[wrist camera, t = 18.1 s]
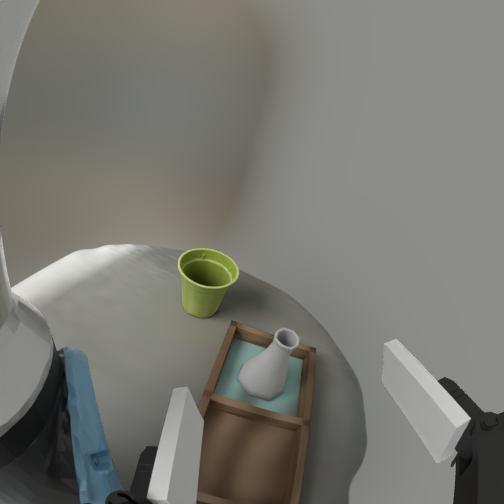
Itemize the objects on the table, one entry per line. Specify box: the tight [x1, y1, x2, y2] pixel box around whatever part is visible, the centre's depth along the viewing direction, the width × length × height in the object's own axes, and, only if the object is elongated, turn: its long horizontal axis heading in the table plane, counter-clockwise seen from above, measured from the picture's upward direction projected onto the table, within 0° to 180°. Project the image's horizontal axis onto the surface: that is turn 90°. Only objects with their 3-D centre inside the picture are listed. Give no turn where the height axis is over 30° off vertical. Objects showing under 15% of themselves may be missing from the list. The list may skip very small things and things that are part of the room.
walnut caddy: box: [196, 321, 316, 504], centre depth 30 cm, size 14×27×3 cm, turn 168°
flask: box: [236, 327, 300, 401], centre depth 33 cm, size 7×7×10 cm
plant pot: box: [178, 248, 239, 318], centre depth 43 cm, size 9×9×9 cm
